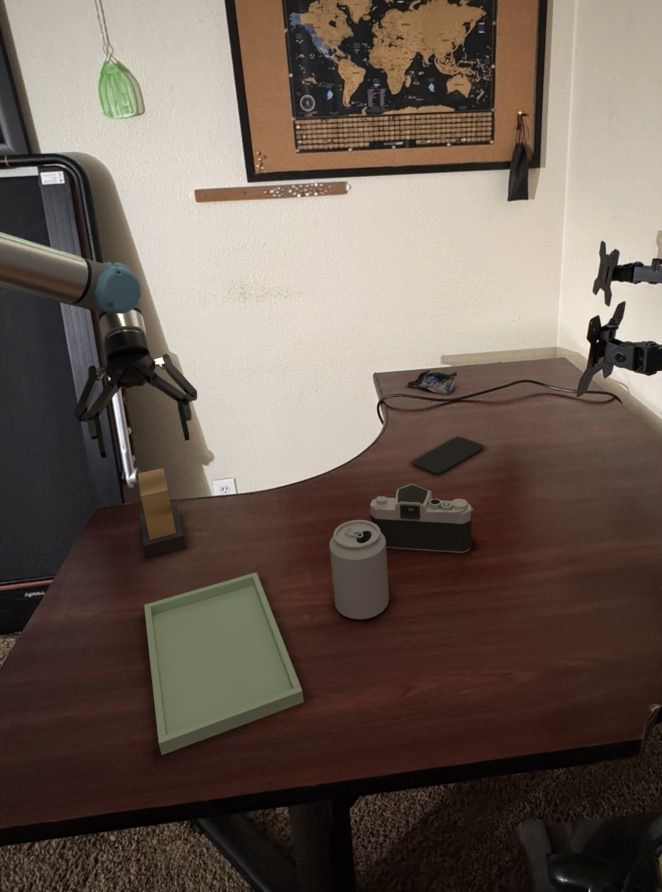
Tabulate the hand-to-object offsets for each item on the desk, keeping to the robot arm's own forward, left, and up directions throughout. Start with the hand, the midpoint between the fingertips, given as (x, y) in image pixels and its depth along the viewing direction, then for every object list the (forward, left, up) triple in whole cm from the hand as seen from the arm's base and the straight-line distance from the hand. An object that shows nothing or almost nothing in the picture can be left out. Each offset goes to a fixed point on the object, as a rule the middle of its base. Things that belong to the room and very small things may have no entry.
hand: (146, 446), depth 107 cm
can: (+43, -15, -13) cm, 47 cm away
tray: (+28, -28, -13) cm, 42 cm away
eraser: (+6, -7, -13) cm, 16 cm away
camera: (+48, +2, -13) cm, 50 cm away
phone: (+47, +30, -13) cm, 57 cm away
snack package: (+36, +67, -13) cm, 77 cm away
